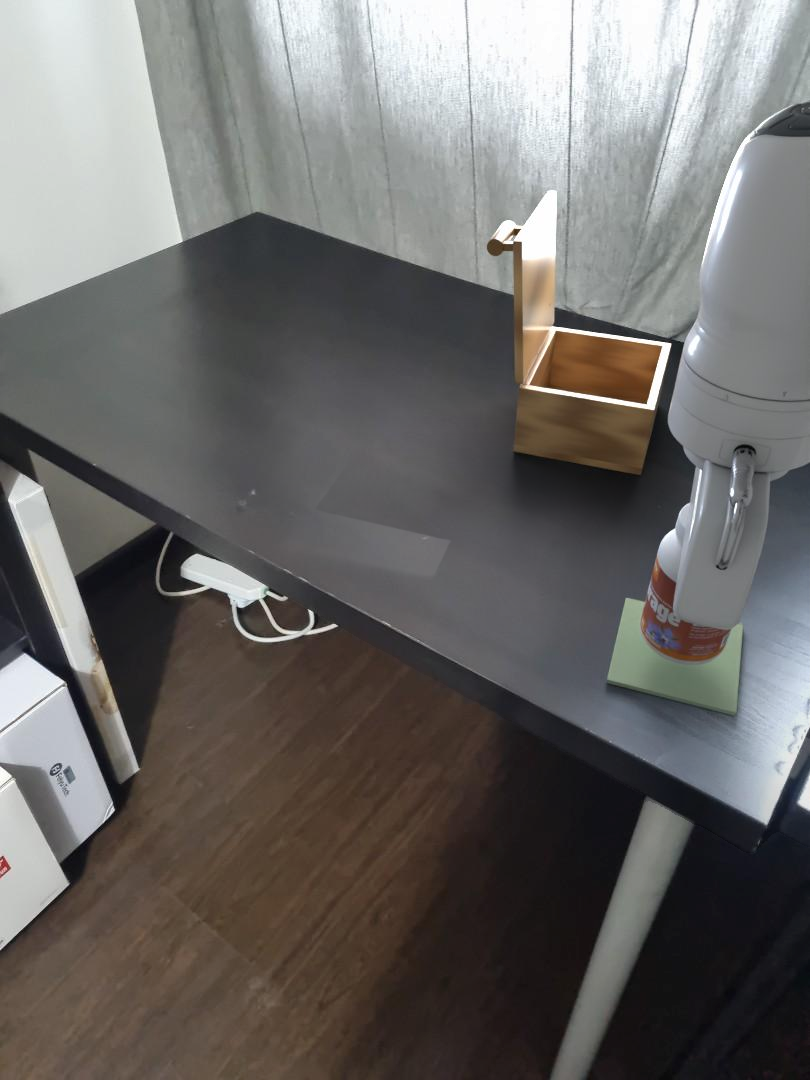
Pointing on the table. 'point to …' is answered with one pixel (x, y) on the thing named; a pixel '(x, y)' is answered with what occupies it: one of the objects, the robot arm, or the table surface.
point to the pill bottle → (658, 617)
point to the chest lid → (531, 279)
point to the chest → (591, 399)
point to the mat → (674, 668)
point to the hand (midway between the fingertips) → (699, 579)
